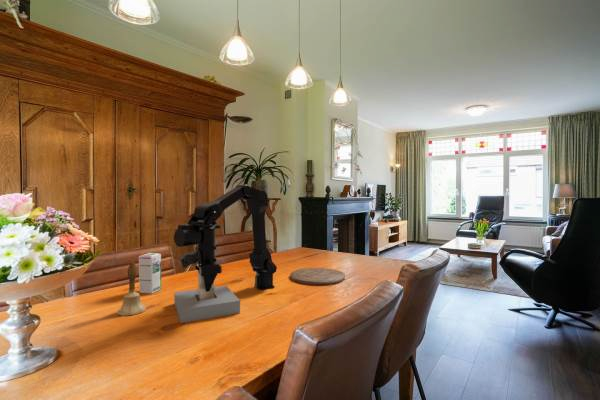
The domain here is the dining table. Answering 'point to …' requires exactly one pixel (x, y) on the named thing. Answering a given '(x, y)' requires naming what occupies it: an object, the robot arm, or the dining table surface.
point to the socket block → (205, 304)
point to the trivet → (317, 276)
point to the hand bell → (131, 296)
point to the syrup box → (150, 273)
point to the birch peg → (201, 289)
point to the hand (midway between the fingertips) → (206, 289)
